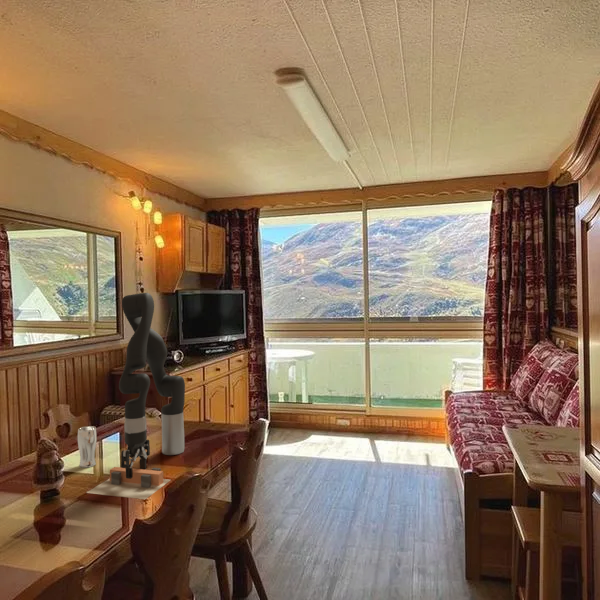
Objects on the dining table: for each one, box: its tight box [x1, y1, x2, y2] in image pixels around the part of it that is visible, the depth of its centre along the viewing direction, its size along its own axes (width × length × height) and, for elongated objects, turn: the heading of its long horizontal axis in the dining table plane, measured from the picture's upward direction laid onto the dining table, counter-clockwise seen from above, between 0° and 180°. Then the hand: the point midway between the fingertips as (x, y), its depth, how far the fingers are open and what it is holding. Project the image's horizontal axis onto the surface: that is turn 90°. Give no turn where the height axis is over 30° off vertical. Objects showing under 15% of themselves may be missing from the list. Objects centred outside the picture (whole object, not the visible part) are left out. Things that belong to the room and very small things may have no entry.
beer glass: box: [77, 425, 97, 469], centre depth 191 cm, size 7×7×15 cm
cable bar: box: [109, 466, 164, 486], centre depth 171 cm, size 3×20×4 cm, turn 75°
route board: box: [86, 467, 171, 500], centre depth 167 cm, size 17×23×5 cm
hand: (136, 473), depth 170 cm, fingers open, 8 cm apart
